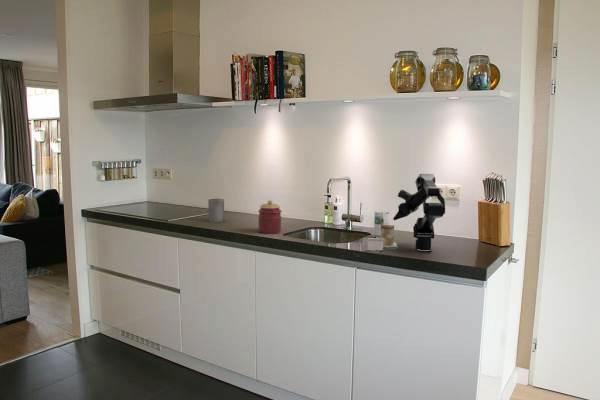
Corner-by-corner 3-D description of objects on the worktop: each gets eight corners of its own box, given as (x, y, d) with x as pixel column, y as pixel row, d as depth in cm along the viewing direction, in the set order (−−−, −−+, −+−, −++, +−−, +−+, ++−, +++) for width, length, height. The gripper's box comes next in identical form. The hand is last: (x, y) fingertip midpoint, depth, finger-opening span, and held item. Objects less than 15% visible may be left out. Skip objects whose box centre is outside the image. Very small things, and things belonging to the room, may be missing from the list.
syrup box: (373, 237, 245) (374, 210, 243) (379, 236, 249) (380, 209, 247) (382, 239, 241) (383, 211, 239) (388, 237, 245) (389, 210, 243)
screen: (382, 250, 215) (383, 238, 214) (383, 251, 213) (383, 239, 212) (367, 250, 216) (367, 237, 215) (367, 251, 214) (367, 238, 213)
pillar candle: (213, 219, 296) (213, 196, 294) (227, 220, 293) (226, 197, 291) (205, 222, 287) (205, 198, 285) (219, 223, 284) (218, 198, 282)
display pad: (396, 244, 229) (396, 242, 229) (397, 248, 220) (397, 246, 220) (377, 243, 230) (377, 241, 230) (378, 247, 221) (378, 245, 221)
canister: (284, 230, 262) (284, 199, 260) (277, 234, 250) (277, 202, 248) (262, 229, 266) (262, 198, 263) (254, 233, 253) (254, 201, 251)
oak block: (393, 243, 226) (394, 225, 225) (390, 245, 222) (391, 227, 220) (383, 242, 228) (384, 224, 227) (380, 244, 224) (381, 226, 223)
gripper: (413, 182, 228) (390, 203, 235) (403, 186, 212) (379, 208, 218) (428, 199, 226) (405, 219, 232) (420, 204, 209) (395, 226, 216)
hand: (396, 218), depth 225 cm, fingers open, 9 cm apart
